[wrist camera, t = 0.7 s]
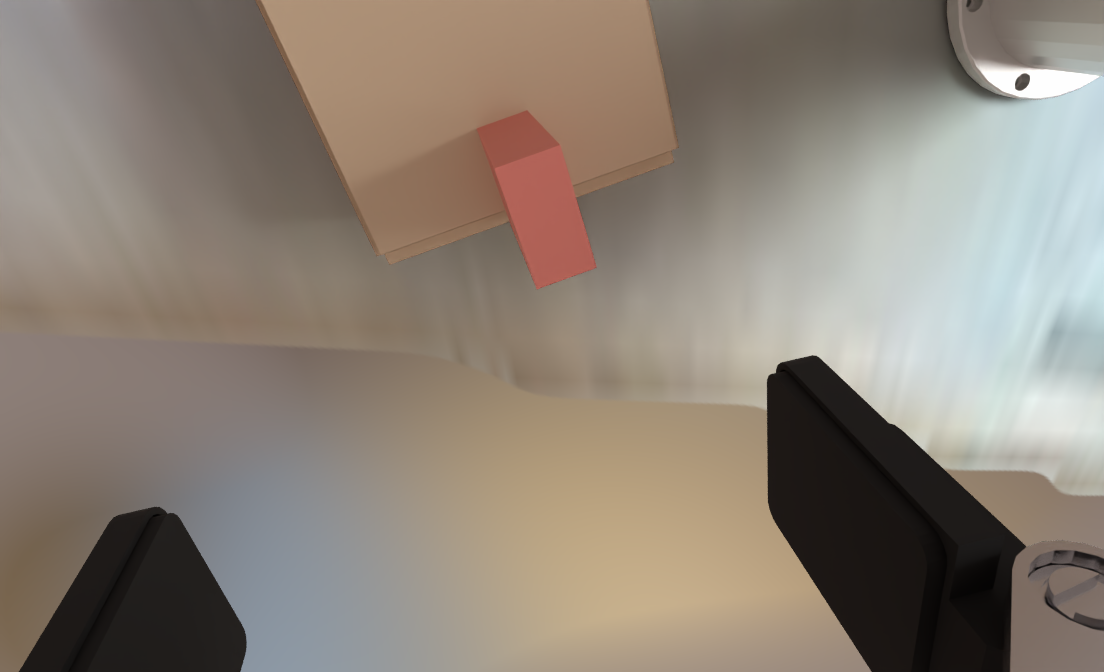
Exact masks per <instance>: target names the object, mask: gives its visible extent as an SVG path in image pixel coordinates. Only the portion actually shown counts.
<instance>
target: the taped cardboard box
mask: <svg viewBox="0 0 1104 672" xmlns="http://www.w3.org/2000/svg"><path fill="white" fill-rule="evenodd" d="M261 1H262V3H263V5H264V8H265V10H266V12H267V14H268V16H269V18H270V20H271V22H272V25H273V27H274V29H275V31H276V33H277V35H278V37H279V39H280V42H281V44H282V46H283V48H284V50H285V52H286V54H287V56H288V59H289V61H290V63H291V65H292V67H293V69H294V71H295V73H296V76H297V78H298V80H299V82H300V84H301V86H302V88H303V90H304V92H305V95H306V97H307V99H308V101H309V103H310V105H311V107H312V109H313V112H314V114H315V116H316V118H317V120H318V122H319V124H320V126H321V129H322V131H323V133H324V135H325V137H326V139H327V141H328V143H329V146H330V148H331V150H332V152H333V154H334V156H335V158H336V160H337V163H338V165H339V167H340V169H341V171H342V173H343V175H344V177H345V180H346V182H347V184H348V186H349V188H350V190H351V192H352V194H353V197H354V199H355V201H356V203H357V205H358V207H359V209H360V211H361V214H362V216H363V218H364V220H365V222H366V224H367V226H368V228H369V231H370V233H371V235H372V237H373V239H374V241H375V243H376V245H377V248H378V250H379V252H380V254H381V255H382V254H385V253H388V252H391V251H393V250H396V249H399V248H402V247H404V246H407V245H410V244H413V243H416V242H418V241H421V240H424V239H427V238H429V237H432V236H435V235H438V234H441V233H443V232H446V231H449V230H452V229H454V228H457V227H460V226H463V225H466V224H468V223H471V222H474V221H477V220H479V219H482V218H485V217H488V216H491V215H493V214H496V213H499V212H502V211H504V210H506V213H507V216H508V219H509V221H510V224H511V227H512V229H513V232H514V234H515V237H516V239H517V242H518V244H519V247H520V249H521V252H522V254H523V256H524V259H525V261H526V264H527V266H528V269H529V271H530V274H531V276H532V278H533V281H534V283H535V286H536V288H537V289H539V288H542V287H545V286H547V285H550V284H553V283H556V282H558V281H561V280H564V279H567V278H569V277H572V276H575V275H578V274H580V273H583V272H586V271H589V270H592V269H594V268H597V267H596V263H595V260H594V257H593V253H592V250H591V247H590V243H589V240H588V236H587V233H586V230H585V226H584V223H583V220H582V216H581V213H580V209H579V206H578V203H577V199H576V196H575V193H574V189H573V186H574V185H577V184H579V183H582V182H585V181H588V180H590V179H593V178H596V177H599V176H602V175H604V174H607V173H610V172H613V171H615V170H618V169H621V168H624V167H627V166H629V165H632V164H635V163H638V162H640V161H643V160H646V159H649V158H652V157H654V156H657V155H660V154H663V153H665V152H668V151H671V150H674V149H677V148H676V144H675V139H674V134H673V129H672V124H671V120H670V115H669V110H668V105H667V101H666V96H665V91H664V86H663V82H662V77H661V72H660V67H659V62H658V58H657V53H656V48H655V43H654V39H653V34H652V29H651V24H650V20H649V15H648V10H647V5H646V1H645V0H261Z"/></svg>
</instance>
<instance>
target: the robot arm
mask: <svg viewBox="0 0 1104 672" xmlns="http://www.w3.org/2000/svg"><path fill="white" fill-rule="evenodd" d="M947 19H948V26H949V34H950V39H951V42H952V44H953V47H954V50H955V53H956V56H957V58H958V60H959V61H960V63H961V64H962V66H963V67H964V69H965V71H966V72H967V74H968V75H969V76H970V77H972V78H973V79H974V80H975V81H976V82H977V83H978V84H979V85H980V86H982V87H984V88H986V89H988V90H990V91H992V92H994V93H996V94H998V95H1003V96H1008V97H1012V98H1017V99H1029V100H1040V99H1047V98H1053V97H1058V96H1061V95H1063V94H1066V93H1069V92H1072V91H1075V90H1077V89H1079V88H1081V87H1083V86H1085V85H1086V84H1088V83H1090V82H1092V81H1094V80H1095V79H1097V78H1099V77H1100V76H1104V0H947ZM767 437H768V439H767V440H768V441H767V445H768V504H769V508H770V512H771V514H772V517H773V519H774V521H775V523H776V524H777V526H778V528H779V529H780V531H781V532H782V534H783V535H784V537H785V538H786V540H787V541H788V543H789V545H790V546H791V548H792V549H793V551H794V552H795V554H796V555H797V557H798V558H799V560H800V561H801V563H802V564H803V566H804V568H805V569H806V571H807V572H808V574H809V575H810V577H811V579H812V580H813V582H814V583H815V585H816V586H817V588H818V589H819V591H820V592H821V594H822V596H823V597H824V598H825V600H826V602H827V603H828V605H829V606H830V608H831V610H832V611H833V612H834V614H835V616H836V617H837V619H838V620H839V622H840V623H841V625H842V627H843V628H844V630H845V631H846V633H847V634H848V636H849V637H850V639H851V640H852V642H853V643H854V645H855V647H856V648H857V650H858V651H859V653H860V654H861V656H862V657H863V659H864V660H865V662H866V664H867V665H868V667H869V668H870V670H871V671H872V672H1104V549H1101V548H1098V547H1095V546H1091V545H1088V544H1085V543H1078V542H1071V541H1064V540H1058V541H1042V542H1039V543H1036V544H1034V545H1031V546H1028V547H1026V546H1025V545H1024V544H1023V543H1022V542H1021V541H1020V540H1019V539H1018V538H1017V537H1016V536H1015V535H1014V534H1012V533H1011V532H1010V531H1009V530H1008V529H1007V528H1006V527H1005V526H1004V525H1003V524H1002V523H1001V522H1000V521H999V520H997V519H996V518H995V517H994V516H993V515H992V514H991V513H990V512H989V511H988V510H987V509H986V508H985V507H984V506H983V505H981V504H980V503H979V502H978V501H977V500H976V499H975V498H974V497H973V496H972V495H971V494H970V493H969V492H968V491H966V490H965V489H964V488H963V487H962V486H961V485H960V484H959V483H958V482H957V481H956V480H955V479H954V478H952V477H951V476H950V475H949V474H948V473H947V472H946V471H945V470H944V469H943V468H942V467H941V466H940V465H939V464H938V463H936V462H935V461H934V460H933V459H932V458H931V457H930V456H929V455H928V454H927V453H926V452H925V451H924V450H923V449H922V448H920V447H919V446H918V445H917V444H916V443H915V442H914V441H913V440H912V439H911V438H910V437H909V436H908V435H907V434H905V433H904V432H903V431H902V430H901V429H899V428H898V427H897V426H895V425H893V424H889V423H888V422H887V421H886V420H885V419H884V418H883V417H882V416H880V415H879V414H878V413H877V412H876V411H875V410H874V409H873V408H872V407H871V406H870V405H869V404H868V403H867V402H866V401H865V400H864V399H863V398H861V397H860V396H859V395H858V394H857V393H856V392H855V391H854V390H853V389H852V388H851V387H850V386H849V385H848V384H847V383H846V382H845V381H843V380H842V379H841V378H840V377H839V376H838V375H837V374H836V373H835V372H834V371H833V370H832V369H831V368H830V367H829V366H828V365H827V364H826V363H824V362H823V361H822V360H821V359H820V358H819V357H817V356H813V355H812V356H808V357H804V358H799V359H795V360H791V361H786V362H782V363H780V364H778V366H777V369H776V373H774V374H770V375H769V376H768V379H767ZM245 652H246V634H245V631H244V628H243V626H242V624H241V622H240V621H239V619H238V617H237V616H236V614H235V612H234V610H233V609H232V607H231V605H230V604H229V602H228V600H227V599H226V597H225V595H224V593H223V592H222V590H221V588H220V586H219V585H218V583H217V581H216V580H215V578H214V576H213V574H212V573H211V571H210V570H209V568H208V566H207V564H206V562H205V561H204V559H203V557H202V556H201V554H200V552H199V551H198V549H197V547H196V545H195V544H194V542H193V540H192V539H191V537H190V535H189V533H188V532H187V530H186V528H185V527H184V525H183V523H182V521H181V520H180V518H179V517H178V516H177V515H175V514H174V513H169V514H167V513H166V511H165V510H163V509H162V508H160V507H152V508H148V509H143V510H139V511H135V512H131V513H126V514H122V515H118V516H116V517H114V518H113V519H112V520H111V521H110V522H109V524H108V525H107V527H106V529H105V530H104V532H103V534H102V535H101V537H100V539H99V540H98V542H97V544H96V545H95V547H94V549H93V550H92V552H91V554H90V555H89V557H88V559H87V560H86V562H85V564H84V565H83V567H82V569H81V570H80V572H79V573H78V575H77V577H76V578H75V580H74V582H73V583H72V585H71V587H70V588H69V590H68V592H67V593H66V595H65V597H64V598H63V600H62V602H61V603H60V605H59V606H58V608H57V610H56V611H55V613H54V615H53V617H52V618H51V620H50V621H49V623H48V625H47V627H46V628H45V630H44V632H43V633H42V635H41V636H40V638H39V640H38V641H37V643H36V645H35V646H34V648H33V650H32V651H31V653H30V654H29V656H28V658H27V660H26V661H25V663H24V665H23V666H22V668H21V669H20V671H19V672H240V671H241V667H242V664H243V660H244V657H245Z"/></svg>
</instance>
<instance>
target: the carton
mask: <svg viewBox="0 0 1104 672" xmlns="http://www.w3.org/2000/svg"><path fill="white" fill-rule="evenodd" d="M255 1H256V3H257V5H258V7H259V9H260V11H261V14H262V16H263V18H264V20H265V22H266V24H267V26H268V28H269V30H270V32H271V35H272V37H273V39H274V41H275V43H276V45H277V47H278V49H279V51H280V54H281V56H282V58H283V60H284V62H285V64H286V66H287V68H288V70H289V73H290V75H291V77H292V79H293V81H294V83H295V85H296V87H297V89H298V91H299V94H300V96H301V98H302V100H303V102H304V104H305V106H306V108H307V110H308V113H309V115H310V117H311V119H312V121H313V123H314V125H315V127H316V129H317V131H318V134H319V136H320V138H321V140H322V142H323V144H324V146H325V148H326V150H327V153H328V155H329V157H330V159H331V161H332V163H333V165H334V167H335V169H336V172H337V174H338V176H339V178H340V180H341V182H342V184H343V186H344V188H345V190H346V193H347V195H348V197H349V199H350V201H351V203H352V205H353V207H354V209H355V212H356V214H357V216H358V218H359V220H360V222H361V224H362V226H363V228H364V230H365V233H366V235H367V237H368V239H369V241H370V243H371V245H372V247H373V249H374V252H375V254H376V256H379V255H381V254H380V252H379V250H378V248H377V245H376V243H375V241H374V239H373V237H372V235H371V233H370V231H369V228H368V226H367V224H366V222H365V220H364V218H363V216H362V214H361V211H360V209H359V207H358V205H357V203H356V201H355V199H354V197H353V194H352V192H351V190H350V188H349V186H348V184H347V182H346V180H345V177H344V175H343V173H342V171H341V169H340V167H339V165H338V163H337V160H336V158H335V156H334V154H333V152H332V150H331V148H330V146H329V143H328V141H327V139H326V137H325V135H324V133H323V131H322V129H321V126H320V124H319V122H318V120H317V118H316V116H315V114H314V112H313V109H312V107H311V105H310V103H309V101H308V99H307V97H306V95H305V92H304V90H303V88H302V86H301V84H300V82H299V80H298V78H297V76H296V73H295V71H294V69H293V67H292V65H291V63H290V61H289V59H288V56H287V54H286V52H285V50H284V48H283V46H282V44H281V42H280V39H279V37H278V35H277V33H276V31H275V29H274V27H273V25H272V22H271V20H270V18H269V16H268V14H267V12H266V10H265V8H264V5H263V3H262V1H261V0H255ZM645 1H646V5H647V10H648V15H649V20H650V24H651V29H652V34H653V39H654V43H655V48H656V53H657V58H658V62H659V67H660V72H661V77H662V82H663V86H664V91H665V96H666V101H667V105H668V110H669V115H670V120H671V124H672V129H673V134H674V139H675V144H676V148H679V145H678V140H677V136H676V131H675V126H674V121H673V116H672V111H671V107H670V102H669V97H668V92H667V87H666V83H665V78H664V73H663V68H662V63H661V59H660V54H659V49H658V44H657V39H656V34H655V30H654V25H653V20H652V15H651V10H650V6H649V1H648V0H645ZM671 163H674V160H673V155H672V151H668V152H665V153H663V154H660V155H657V156H654V157H652V158H649V159H646V160H643V161H640V162H638V163H635V164H632V165H629V166H627V167H624V168H621V169H618V170H615V171H613V172H610V173H607V174H604V175H602V176H599V177H596V178H593V179H590V180H588V181H585V182H582V183H579V184H577V185H574V186H573V189H574V193H575V196H576V197H579V196H582V195H585V194H588V193H590V192H593V191H596V190H599V189H601V188H604V187H607V186H610V185H613V184H615V183H618V182H621V181H624V180H626V179H629V178H632V177H635V176H638V175H640V174H643V173H646V172H649V171H651V170H654V169H657V168H660V167H662V166H665V165H668V164H671ZM507 222H510V221H509V219H508V216H507V213H506V210H504V211H502V212H499V213H496V214H493V215H491V216H488V217H485V218H482V219H479V220H477V221H474V222H471V223H468V224H466V225H463V226H460V227H457V228H454V229H452V230H449V231H446V232H443V233H441V234H438V235H435V236H432V237H429V238H427V239H424V240H421V241H418V242H416V243H413V244H410V245H407V246H404V247H402V248H399V249H396V250H393V251H391V252H388V253H385V256H386V259H387V261H388V263H389V265H391V264H393V263H396V262H399V261H402V260H404V259H407V258H410V257H413V256H416V255H418V254H421V253H424V252H427V251H429V250H432V249H435V248H438V247H441V246H443V245H446V244H449V243H452V242H454V241H457V240H460V239H463V238H465V237H468V236H471V235H474V234H477V233H479V232H482V231H485V230H488V229H490V228H493V227H496V226H499V225H502V224H504V223H507Z"/></svg>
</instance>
